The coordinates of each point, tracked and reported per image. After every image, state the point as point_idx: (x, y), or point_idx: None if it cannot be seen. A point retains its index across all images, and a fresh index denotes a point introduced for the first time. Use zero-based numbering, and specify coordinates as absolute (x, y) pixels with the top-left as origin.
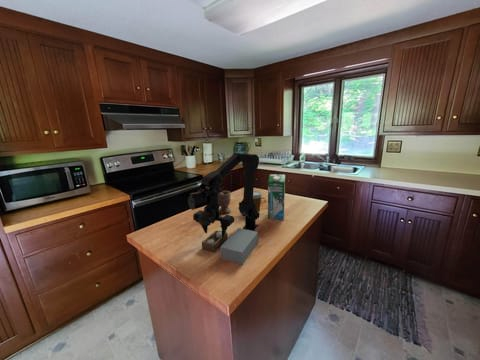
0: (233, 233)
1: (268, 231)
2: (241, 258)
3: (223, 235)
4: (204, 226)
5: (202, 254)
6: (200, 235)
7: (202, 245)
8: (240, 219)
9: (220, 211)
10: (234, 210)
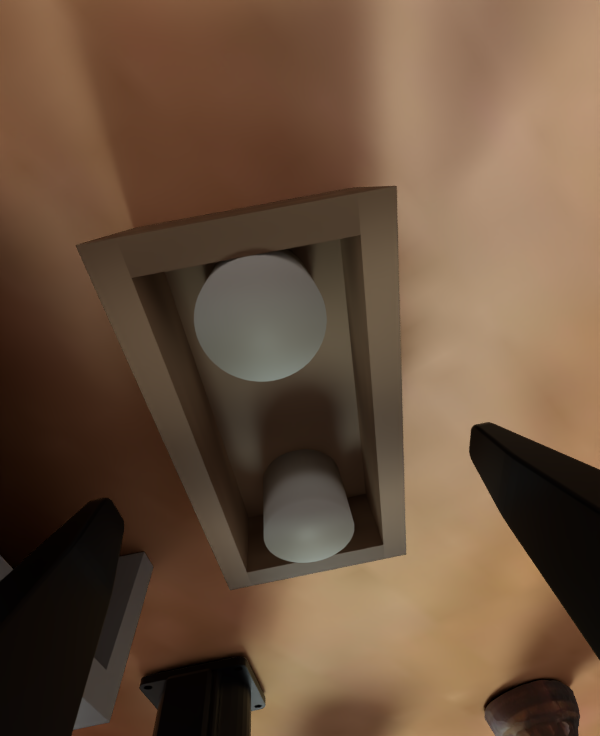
0: None
1: None
2: None
3: (57, 542)
4: None
5: (250, 64)
6: (558, 411)
7: (361, 189)
8: (355, 700)
9: (559, 700)
10: (466, 729)
